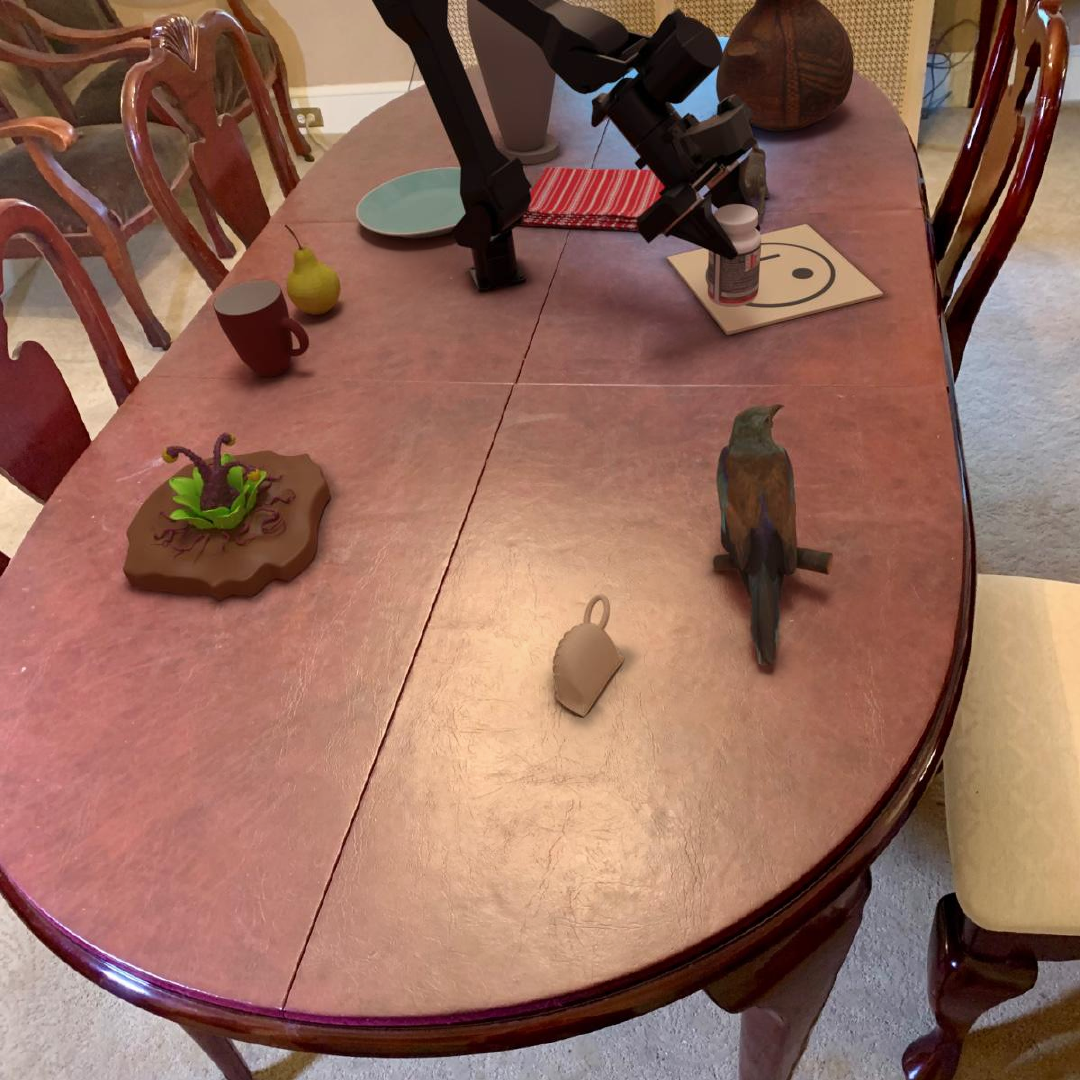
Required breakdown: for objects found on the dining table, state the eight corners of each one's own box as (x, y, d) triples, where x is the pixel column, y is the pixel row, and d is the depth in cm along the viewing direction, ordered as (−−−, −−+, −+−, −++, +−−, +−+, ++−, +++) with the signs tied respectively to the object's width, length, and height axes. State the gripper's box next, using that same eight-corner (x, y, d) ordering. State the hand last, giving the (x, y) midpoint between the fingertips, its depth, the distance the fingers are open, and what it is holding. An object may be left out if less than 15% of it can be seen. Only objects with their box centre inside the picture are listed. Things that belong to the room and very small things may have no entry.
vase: (581, 142, 156) (561, -108, 132) (539, 174, 149) (510, -85, 124) (515, 133, 162) (485, -108, 138) (472, 163, 155) (432, -86, 130)
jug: (712, 97, 164) (716, -108, 143) (841, 88, 160) (864, -123, 139) (711, 148, 148) (715, -72, 128) (853, 141, 145) (881, -87, 124)
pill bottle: (767, 292, 108) (774, 209, 101) (739, 314, 105) (743, 231, 98) (726, 278, 111) (729, 197, 104) (697, 299, 108) (698, 217, 101)
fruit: (356, 307, 125) (332, 222, 117) (316, 330, 122) (288, 245, 114) (325, 292, 129) (300, 209, 121) (285, 315, 126) (256, 231, 117)
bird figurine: (842, 670, 74) (848, 416, 70) (715, 669, 76) (712, 421, 71) (821, 617, 87) (824, 400, 82) (713, 618, 89) (710, 405, 84)
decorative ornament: (540, 698, 76) (533, 657, 73) (594, 629, 81) (590, 587, 77) (582, 719, 75) (577, 678, 71) (635, 647, 79) (632, 605, 75)
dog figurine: (732, 185, 139) (733, 134, 133) (772, 185, 137) (775, 133, 132) (722, 223, 131) (724, 170, 125) (765, 224, 129) (768, 170, 124)
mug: (333, 352, 118) (311, 280, 111) (307, 390, 112) (282, 317, 105) (258, 349, 120) (232, 278, 113) (229, 386, 115) (200, 314, 108)
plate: (332, 244, 139) (327, 226, 137) (402, 179, 153) (398, 162, 151) (465, 257, 132) (462, 238, 130) (526, 188, 146) (524, 170, 144)
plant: (170, 471, 104) (128, 388, 96) (342, 460, 102) (314, 374, 94) (105, 608, 90) (50, 523, 82) (304, 597, 88) (266, 510, 80)
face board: (666, 260, 125) (666, 255, 124) (806, 227, 127) (806, 221, 127) (726, 335, 111) (727, 329, 110) (882, 296, 113) (883, 290, 112)
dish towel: (673, 234, 130) (673, 216, 128) (512, 227, 137) (510, 210, 135) (696, 179, 141) (696, 162, 139) (547, 176, 148) (545, 159, 146)
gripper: (661, 115, 88) (764, 245, 91) (744, 48, 99) (834, 166, 102) (594, 183, 97) (689, 300, 100) (676, 115, 108) (760, 222, 111)
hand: (746, 244), depth 103 cm, fingers closed on pill bottle, 6 cm apart
